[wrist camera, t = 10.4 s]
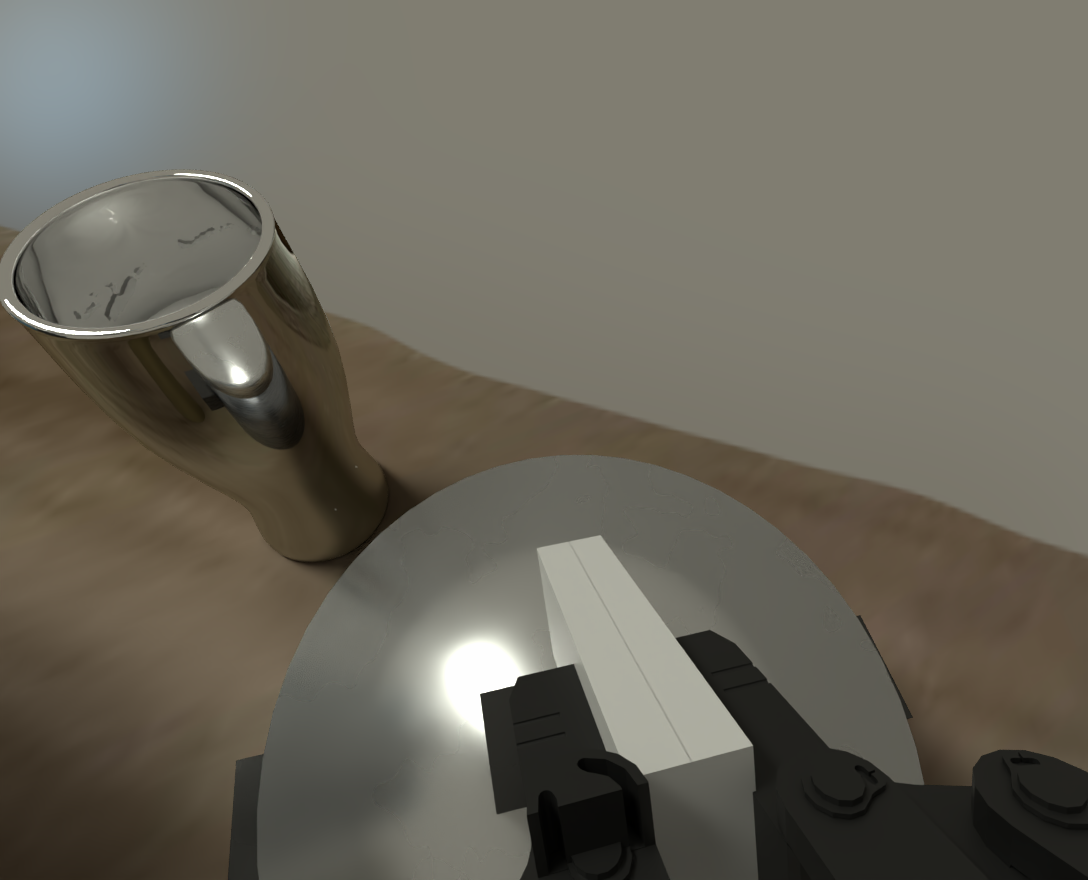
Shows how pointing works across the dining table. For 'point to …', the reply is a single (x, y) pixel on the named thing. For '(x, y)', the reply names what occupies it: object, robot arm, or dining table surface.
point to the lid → (526, 662)
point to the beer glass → (203, 347)
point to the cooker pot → (246, 803)
